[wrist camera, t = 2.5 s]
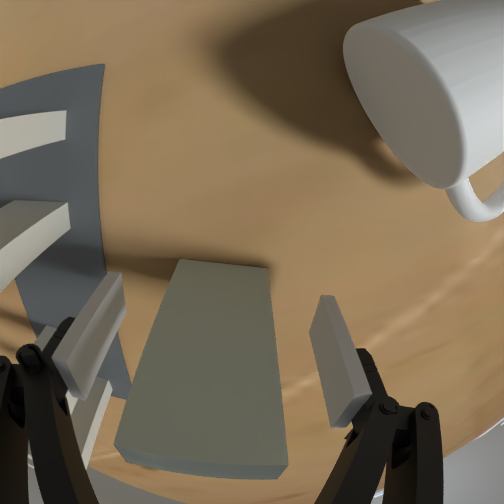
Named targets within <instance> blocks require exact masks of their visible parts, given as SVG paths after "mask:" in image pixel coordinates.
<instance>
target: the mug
mask: <svg viewBox="0 0 504 504" xmlns="http://www.w3.org/2000/svg"><path fill="white" fill-rule="evenodd" d="M343 56H344V62H345V66H346V70H347V73H348V76H349V79H350V81H351V84H352V86H353V89H354V91H355V93H356V95H357V97H358V99H359V101H360V103H361V105H362V107H363V109H364V111H365V112H366V114H367V116H368V117H369V119H370V121H371V122H372V124H373V126H374V127H375V129H376V130H377V132H378V133H379V135H380V136H381V138H382V139H383V140H384V142H385V143H386V144H387V146H388V147H389V148H390V150H391V151H392V152H393V153H394V155H395V156H396V157H397V158H398V159H399V160H400V162H401V163H402V164H403V165H404V166H405V167H406V168H407V169H408V170H409V171H410V172H411V173H413V174H414V175H415V176H416V177H417V178H419V179H420V180H421V181H423V182H425V183H426V184H428V185H430V186H433V187H435V188H440V189H445V191H446V193H447V195H448V197H449V199H450V201H451V203H452V205H453V206H454V208H455V209H456V210H457V212H458V213H459V214H460V215H461V216H463V217H464V218H466V219H468V220H470V221H474V222H484V221H488V220H491V219H493V218H495V217H497V216H499V215H500V214H501V213H503V212H504V180H503V182H502V183H501V185H500V186H499V187H498V188H497V189H496V190H495V192H493V193H492V194H491V195H490V196H489V197H488V198H487V199H485V200H484V201H482V202H481V201H480V200H479V199H478V198H477V196H476V195H475V193H474V191H473V189H472V186H471V184H470V181H469V179H468V177H469V176H470V175H472V174H473V173H475V172H476V171H477V170H479V169H480V168H482V167H483V166H484V165H486V164H487V163H489V162H490V161H491V160H493V159H494V158H495V157H497V156H498V155H500V154H501V153H502V152H504V0H440V1H434V2H430V3H425V4H420V5H416V6H412V7H408V8H404V9H401V10H397V11H393V12H390V13H387V14H383V15H380V16H377V17H374V18H371V19H368V20H365V21H362V22H360V23H357V24H355V25H353V26H352V27H351V28H350V29H349V30H348V31H347V33H346V35H345V38H344V42H343Z"/></svg>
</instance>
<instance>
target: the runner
mask: <svg viewBox="0 0 504 504" xmlns="http://www.w3.org/2000/svg"><path fill="white" fill-rule="evenodd" d="M104 67H105V64H97V65H91V66H85V67H79V68H74V69H69V70H64V71H60V72H55V73H51V74H47V75H43V76H40V77H36V78H32V79H29V80H26V81H22V82H19V83H16V84H13V85H10V86H7V87H4V88H2V89H0V119H4V118H10V117H15V116H22V115H28V114H36V113H44V112H53V111H64V110H66V132H65V140H61V141H57V142H53V143H49V144H46V145H42V146H39V147H35V148H32V149H28V150H25V151H22V152H19V153H16V154H13V155H10V156H7V157H4V158H1V159H0V208H2V207H3V206H5V205H7V204H9V203H10V202H12V201H14V200H28V201H52V202H68V211H69V220H70V228H71V229H69V230H68V231H67V232H66V233H64V234H63V235H62V236H61V237H60V238H58V239H57V240H56V241H55V242H54V243H53V244H51V245H50V246H49V247H48V248H47V249H46V250H44V251H43V252H42V253H41V254H40V255H39V256H38V257H37V258H35V259H34V260H33V261H32V262H31V263H30V264H29V265H28V266H27V267H26V268H25V269H24V270H23V271H21V272H20V273H19V274H18V275H17V276H16V277H15V280H16V283H17V287H18V290H19V293H20V296H21V299H22V301H23V304H24V307H25V310H26V312H27V315H28V317H29V320H30V322H31V325H32V327H33V330H34V332H35V334H36V337H37V338H38V337H39V335H40V334H41V332H42V331H43V329H44V328H45V327H46V325H47V326H50V327H54V328H58V326H59V325H60V323H61V322H62V321H63V320H65V319H66V318H68V317H69V316H70V317H74V318H76V317H77V316H78V314H79V313H80V311H81V310H82V308H83V307H84V305H85V304H86V302H87V301H88V300H89V298H90V297H91V295H92V294H93V292H94V291H95V290H96V288H97V287H98V285H99V284H100V283H101V281H102V280H103V279H104V277H105V276H106V268H105V261H104V253H103V244H102V235H101V224H100V210H99V191H98V133H99V115H100V102H101V92H102V83H103V75H104ZM97 377H101V378H105V379H108V380H109V382H110V384H111V387H112V389H113V390H112V393H111V396H114V397H118V398H122V399H126V400H127V398H128V394H129V391H130V388H131V381H130V378H129V375H128V371H127V368H126V364H125V360H124V357H123V353H122V349H121V345H120V341H119V337H118V333H116V335H115V337H114V339H113V341H112V343H111V345H110V347H109V349H108V351H107V354H106V356H105V358H104V360H103V362H102V364H101V367H100V369H99V371H98V373H97Z"/></svg>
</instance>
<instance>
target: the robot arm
mask: <svg viewBox="0 0 504 504" xmlns="http://www.w3.org/2000/svg"><path fill="white" fill-rule="evenodd" d="M126 313H127V310H126V304H125V298H124V291H123V283H122V275H121V273H119V272H112V271H109V272H108V273H107V275H106V276H105V277H104V279H103V280H102V281H101V283H100V284H99V285H98V287H97V288H96V290H95V291H94V292H93V294H92V295H91V297H90V298H89V300H88V301H87V302H86V304H85V305H84V307H83V308H82V310H81V311H80V313H79V314H78V316H77V317H76V318H74V317H70V316H69V317H68V318H66V319H65V320H63V321H62V322H61V323H60V325H59V326H58V328H57V330H56V331H55V332H54V334H53V337H51V338H50V340H49V341H48V343H47V344H46V346H45V348H44V349H43V351H41V349H40V348H39V347H38V346H37V345H35V344H26V345H23V346H22V347H21V348H19V350H18V351H17V353H16V359H17V361H18V362H19V364H12V363H11V362H10V360H9V359H8V358H7V357H6V356H0V504H29V498H28V442H29V444H30V450H31V455H32V460H33V465H34V469H35V473H36V477H37V481H38V485H39V489H40V492H41V495H42V499H43V502H44V504H99V503H98V500H97V498H96V495H95V493H94V490H93V488H92V485H91V483H90V480H89V477H88V474H87V472H86V469H85V466H84V463H83V460H82V456H81V453H80V450H79V446H78V443H77V439H76V436H75V432H74V428H73V424H72V419H71V415H70V410H69V405H68V400H67V398H66V396H65V395H66V393H67V390H69V392H70V394H71V396H72V397H75V398H78V399H81V400H84V401H86V399H87V397H88V394H89V392H90V390H91V387H92V385H93V383H94V380H95V378H96V376H97V373H98V371H99V369H100V367H101V364H102V362H103V360H104V358H105V356H106V354H107V351H108V349H109V347H110V345H111V343H112V341H113V339H114V337H115V335H116V333H117V331H118V328H119V326H120V324H121V322H122V320H123V318H124V316H125V315H126ZM309 334H310V338H311V342H312V346H313V351H314V355H315V359H316V363H317V367H318V372H319V376H320V380H321V385H322V389H323V394H324V398H325V403H326V407H327V412H328V416H329V421H330V426H331V428H341V427H347V426H348V425H349V423H350V422H351V421H352V424H353V429H352V430H351V431H350V432H349V433H348V434H347V436H346V437H345V438H344V439H347V441H346V443H345V445H344V447H343V449H342V452H341V454H340V456H339V458H338V460H337V462H336V464H335V466H334V468H333V470H332V472H331V474H330V476H329V478H328V480H327V482H326V484H325V485H324V487H323V489H322V491H321V493H320V494H319V496H318V498H317V500H316V501H315V503H314V504H371V501H372V499H373V497H374V494H375V492H376V489H377V486H378V484H379V481H380V479H381V476H382V473H383V470H384V467H385V464H386V475H385V486H384V494H383V502H382V504H443V454H442V441H441V430H440V421H439V414H438V411H437V409H436V408H435V406H434V405H432V404H431V403H428V402H421V403H420V404H418V405H417V406H416V407H415V408H411V407H404V406H400V405H399V403H398V402H397V401H396V400H395V399H393V398H392V397H389V396H388V395H387V393H386V390H385V387H384V385H383V382H382V380H381V377H380V375H379V372H377V371H378V370H377V368H376V365H375V363H374V360H373V358H372V356H371V355H370V353H369V352H368V351H367V350H366V349H365V348H358V349H355V346H354V343H353V341H352V338H351V336H350V333H349V331H348V328H347V326H346V323H345V321H344V318H343V316H342V314H341V311H340V309H339V306H338V304H337V302H336V299H335V297H334V296H330V295H321V297H320V300H319V303H318V306H317V309H316V313H315V316H314V319H313V322H312V324H311V327H310V330H309ZM386 461H387V463H386Z"/></svg>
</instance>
